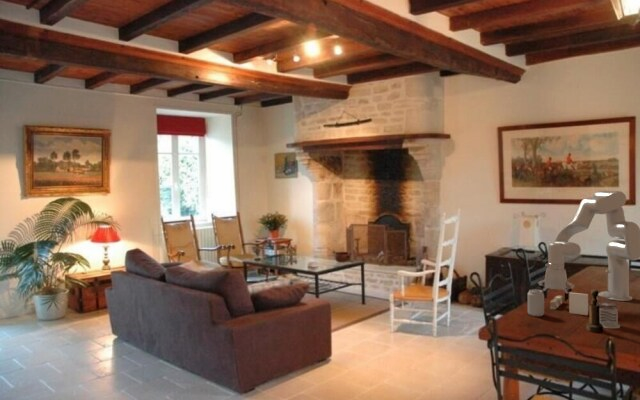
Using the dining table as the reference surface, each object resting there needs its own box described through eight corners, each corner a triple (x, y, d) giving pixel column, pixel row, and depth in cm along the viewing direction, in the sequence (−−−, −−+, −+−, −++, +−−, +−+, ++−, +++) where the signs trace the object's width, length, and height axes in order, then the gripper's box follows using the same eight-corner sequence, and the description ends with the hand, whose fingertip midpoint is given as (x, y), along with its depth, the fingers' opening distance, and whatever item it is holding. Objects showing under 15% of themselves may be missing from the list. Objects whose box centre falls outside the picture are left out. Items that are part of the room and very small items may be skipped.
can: (545, 317, 243) (545, 292, 242) (529, 316, 244) (529, 292, 244) (542, 313, 250) (542, 288, 250) (526, 312, 252) (526, 288, 251)
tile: (570, 312, 250) (569, 292, 250) (588, 314, 246) (588, 294, 245) (569, 313, 249) (569, 292, 249) (587, 315, 244) (587, 294, 244)
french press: (620, 329, 221) (620, 272, 220) (590, 326, 227) (590, 270, 226) (620, 323, 229) (620, 269, 228) (591, 320, 236) (591, 267, 234)
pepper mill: (582, 328, 224) (582, 288, 223) (596, 327, 225) (596, 287, 224) (592, 332, 218) (592, 291, 217) (606, 332, 218) (606, 290, 217)
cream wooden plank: (557, 302, 270) (557, 295, 270) (562, 303, 269) (562, 295, 269) (550, 309, 258) (550, 301, 257) (555, 309, 256) (555, 302, 256)
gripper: (536, 266, 264) (536, 298, 265) (573, 269, 254) (572, 303, 255) (539, 264, 270) (539, 296, 271) (575, 267, 260) (575, 300, 261)
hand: (555, 299), depth 263 cm, fingers open, 9 cm apart
